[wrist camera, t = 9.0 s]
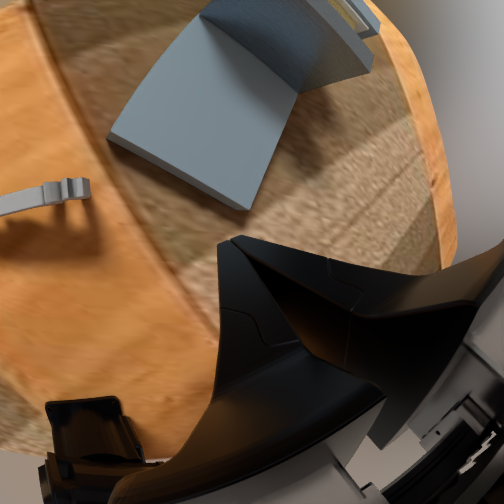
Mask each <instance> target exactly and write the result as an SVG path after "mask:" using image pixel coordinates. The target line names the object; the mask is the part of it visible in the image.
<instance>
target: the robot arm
mask: <svg viewBox="0 0 504 504" xmlns="http://www.w3.org/2000/svg"><path fill="white" fill-rule="evenodd" d="M217 265H218V290H219V309H220V310H219V313H220V337H219V349H218V356H217V364H216V372H215V381H214V388H213V393H212V398H211V401H210V404H209V406H208V408H207V409H206V411H205V413H204V414H203V416H202V417H201V419H200V421H199V422H198V424H197V425H196V427H195V428H194V430H193V432H192V433H191V435H190V436H189V438H188V439H187V441H186V443H185V444H184V446H183V447H182V448H181V450H180V451H179V452H178V453H177V454H176V455H175V456H174V457H173V458H171V459H170V460H169V461H167V462H165V463H164V462H163V461H162V462H155V463H146V461H145V457H144V453H143V449H142V445H141V443H140V441H139V439H138V437H137V435H136V433H135V431H134V429H133V427H132V425H131V423H130V421H129V419H128V417H126V416H122V414H121V410H120V404H119V401H118V399H117V397H116V396H105V397H96V398H87V399H76V400H64V401H49V402H46V403H45V410H46V413H47V416H48V419H49V421H50V424H51V427H52V436H53V444H54V452H55V454H54V453H51V452H47V460H46V459H45V464H44V465H42V466H40V467H38V471H39V480H40V487H41V492H42V498H43V502H44V504H504V239H503V241H502V242H501V243H500V244H498V245H497V246H495V247H494V248H492V249H490V250H488V251H486V252H484V253H482V254H480V255H477V256H475V257H473V258H470V259H468V260H465V261H463V262H460V263H458V264H455V265H453V266H450V267H448V268H445V269H443V270H440V271H437V272H435V273H432V274H428V275H421V276H414V275H407V274H401V273H396V272H391V271H385V270H380V269H374V268H369V267H364V266H359V265H355V264H351V263H347V262H343V261H339V260H335V259H331V258H327V257H324V256H320V255H316V254H313V253H309V252H305V251H301V250H298V249H294V248H290V247H286V246H283V245H279V244H275V243H271V242H267V241H264V240H260V239H256V238H252V237H248V236H245V235H239V236H236V237H234V238H231V239H230V241H229V240H226V241H224V242H221V243H219V244H217ZM111 401H115V402H114V403H111ZM48 407H52V409H50V408H48ZM409 428H410V429H411V430H412V431H413V432H414V434H415V435H416V436H417V437H418V438H419V439H420V440H421V441H420V442H419V443H420V445H421V446H422V447H423V448H424V449H425V450H426V451H427V453H426V454H425V455H424V456H422V457H421V458H420V459H419V460H418V461H417V462H416V463H414V464H413V465H412V466H411V467H410V468H409V469H407V470H406V471H405V472H404V473H402V474H401V475H400V476H399V477H397V478H396V479H395V480H394V481H392V482H391V483H390V484H388V485H387V486H386V487H384V488H383V489H382V490H380V491H379V490H378V489H377V488H376V487H375V485H374V484H373V483H372V482H369V483H368V484H366V485H365V486H363V487H361V488H359V486H358V485H357V484H356V483H355V481H354V480H353V479H352V477H351V476H350V475H349V474H348V472H347V471H346V470H345V467H346V465H347V464H348V463H349V461H350V460H351V458H352V457H353V455H354V454H355V452H356V450H357V449H358V447H359V446H360V444H361V443H362V441H363V439H364V438H365V436H366V435H367V436H368V437H369V438H370V439H371V440H372V441H373V442H374V444H375V445H376V446H377V447H378V448H379V449H380V450H383V449H384V448H385V447H387V446H388V445H389V444H391V443H392V442H393V441H394V440H396V439H397V438H398V437H399V436H400V435H402V434H403V433H404V432H405V431H407V430H408V429H409ZM492 431H494V432H495V433H496V434H497V435H495V436H494V437H493V438H492V439H491V440H490V441H489V442H488V444H487V446H488V448H487V449H486V450H485V451H484V452H482V453H481V454H480V455H479V456H477V457H476V458H475V459H474V460H473V463H474V466H472V467H471V468H470V469H468V470H467V471H465V472H464V473H462V474H461V473H460V471H459V470H460V469H461V468H462V467H464V466H465V465H467V464H468V463H469V462H470V461H471V456H473V455H474V454H475V453H477V452H478V451H479V450H480V449H481V448H482V446H481V445H482V444H483V443H484V442H485V441H486V440H488V439H489V438H490V437H491V435H492V434H491V432H492Z"/></svg>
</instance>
